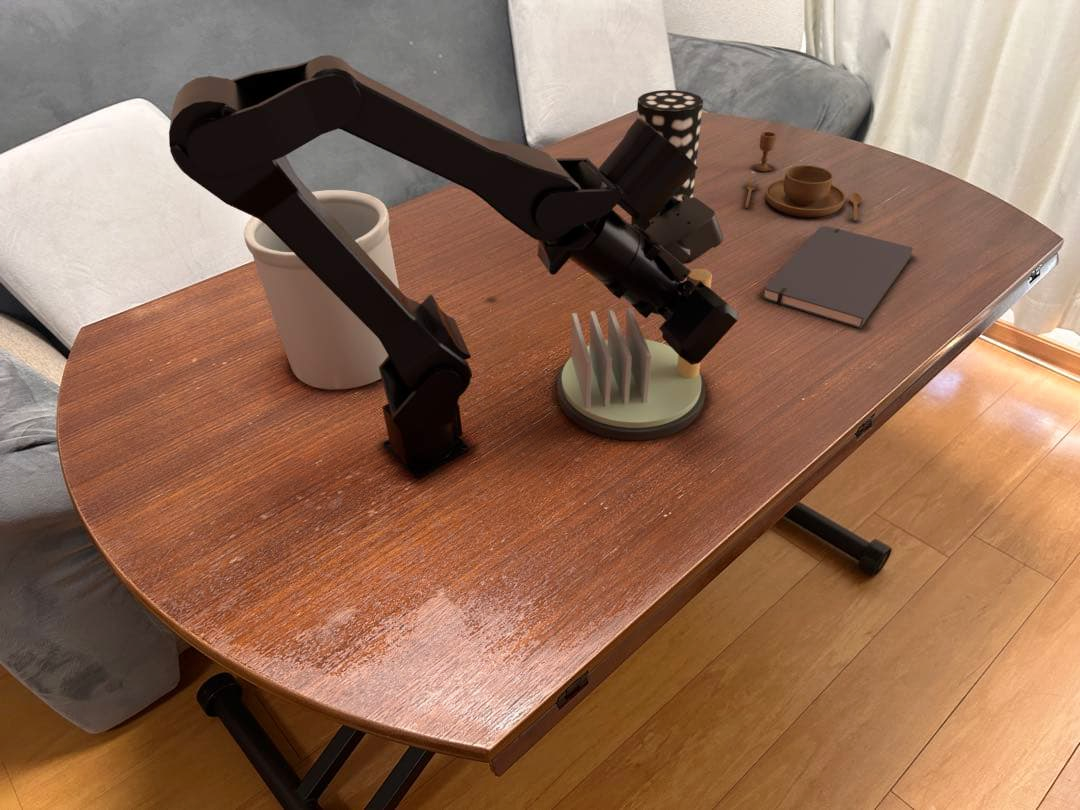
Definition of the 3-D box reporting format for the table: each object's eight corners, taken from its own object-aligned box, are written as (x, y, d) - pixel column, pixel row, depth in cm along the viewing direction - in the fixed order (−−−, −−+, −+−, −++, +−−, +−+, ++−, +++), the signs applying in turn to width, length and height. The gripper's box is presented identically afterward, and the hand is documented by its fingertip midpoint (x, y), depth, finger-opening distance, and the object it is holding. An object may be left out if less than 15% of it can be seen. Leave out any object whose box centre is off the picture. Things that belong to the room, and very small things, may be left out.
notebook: (860, 329, 91) (910, 257, 104) (863, 317, 90) (913, 247, 103) (760, 298, 97) (819, 234, 110) (762, 288, 96) (821, 224, 109)
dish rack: (719, 420, 77) (736, 313, 69) (573, 435, 76) (574, 329, 68) (679, 337, 89) (690, 238, 80) (552, 350, 87) (550, 250, 79)
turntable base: (630, 463, 74) (630, 454, 73) (527, 388, 84) (527, 379, 83) (734, 395, 82) (736, 386, 81) (629, 334, 92) (630, 325, 91)
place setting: (740, 214, 116) (746, 176, 112) (751, 164, 131) (757, 130, 127) (861, 226, 112) (871, 188, 108) (858, 173, 127) (867, 138, 123)
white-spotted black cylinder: (621, 248, 108) (627, 105, 96) (642, 224, 114) (651, 87, 101) (676, 260, 105) (690, 114, 93) (696, 235, 111) (711, 94, 98)
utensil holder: (284, 405, 83) (240, 262, 71) (283, 333, 94) (244, 199, 83) (419, 381, 85) (396, 239, 74) (402, 313, 97) (379, 181, 85)
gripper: (731, 223, 60) (820, 309, 70) (626, 148, 74) (713, 229, 84) (639, 329, 63) (737, 397, 73) (555, 238, 77) (647, 306, 87)
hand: (708, 325), depth 79 cm, fingers closed on dish rack, 2 cm apart
